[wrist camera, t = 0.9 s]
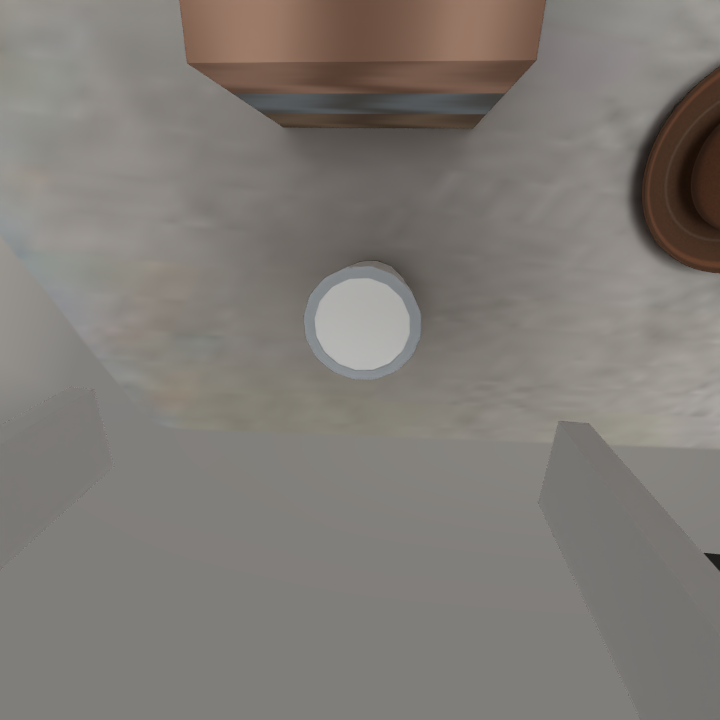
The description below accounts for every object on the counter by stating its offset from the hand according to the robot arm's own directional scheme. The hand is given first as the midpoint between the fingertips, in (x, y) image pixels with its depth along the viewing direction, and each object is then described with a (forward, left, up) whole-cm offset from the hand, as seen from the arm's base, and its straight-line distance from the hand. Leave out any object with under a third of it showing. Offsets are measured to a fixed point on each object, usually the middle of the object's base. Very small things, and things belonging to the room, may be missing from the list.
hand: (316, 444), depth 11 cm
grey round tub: (0, 0, -19) cm, 19 cm away
